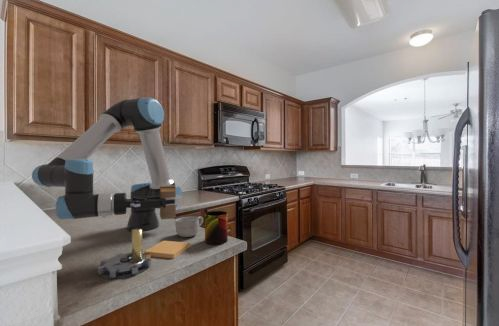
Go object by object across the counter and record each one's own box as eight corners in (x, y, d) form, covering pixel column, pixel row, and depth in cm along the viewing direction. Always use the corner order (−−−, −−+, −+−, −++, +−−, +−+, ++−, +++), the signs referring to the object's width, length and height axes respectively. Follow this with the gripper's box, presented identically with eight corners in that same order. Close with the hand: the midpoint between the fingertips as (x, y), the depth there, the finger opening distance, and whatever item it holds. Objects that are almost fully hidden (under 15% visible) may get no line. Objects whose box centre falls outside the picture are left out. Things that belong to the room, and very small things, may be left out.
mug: (223, 234, 111) (223, 208, 111) (229, 243, 98) (229, 215, 97) (202, 235, 108) (202, 209, 108) (206, 246, 95) (206, 216, 95)
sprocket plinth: (124, 257, 84) (124, 256, 84) (159, 260, 81) (159, 259, 81) (87, 276, 70) (87, 275, 70) (128, 281, 67) (128, 280, 67)
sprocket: (92, 266, 75) (92, 229, 75) (141, 253, 86) (140, 220, 86) (106, 283, 65) (105, 240, 65) (159, 265, 76) (159, 228, 76)
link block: (159, 216, 91) (159, 185, 91) (173, 215, 93) (173, 185, 93) (161, 219, 86) (161, 187, 86) (175, 218, 89) (175, 186, 88)
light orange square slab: (163, 244, 97) (163, 240, 97) (190, 246, 94) (190, 242, 94) (144, 255, 85) (144, 251, 85) (173, 258, 83) (173, 254, 83)
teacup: (180, 241, 101) (179, 222, 101) (172, 234, 110) (171, 217, 110) (209, 235, 109) (209, 217, 109) (199, 229, 118) (199, 213, 118)
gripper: (115, 210, 90) (177, 205, 100) (111, 220, 74) (186, 213, 84) (115, 190, 90) (177, 187, 100) (111, 196, 74) (186, 192, 84)
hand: (181, 199), depth 92 cm, fingers closed on link block, 5 cm apart
